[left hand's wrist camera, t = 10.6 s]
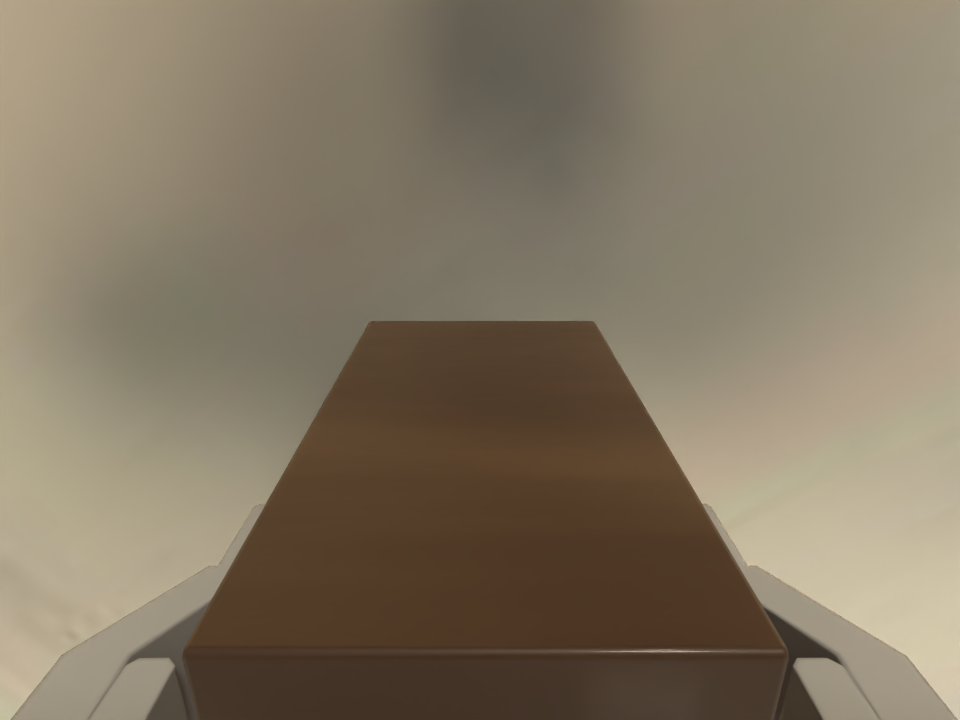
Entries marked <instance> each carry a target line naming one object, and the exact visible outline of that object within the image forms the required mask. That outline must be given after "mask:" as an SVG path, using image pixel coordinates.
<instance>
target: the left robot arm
mask: <svg viewBox="0 0 960 720" xmlns="http://www.w3.org/2000/svg"><path fill="white" fill-rule="evenodd" d="M265 505H266V504H259V505H257V506H255V507H254V508H253V509H252V510H251V512H250V514H249V515H248V517H247V519H246V520H245V522H244V524H243V525H242V527H241V529H240V530H239V532H238V534H237V535H236V537H235V539H234V540H233V542H232V544H231V545H230V547H229V549H228V550H227V552H226V554H225V555H224V557H223V559H222V560H221V562H220V564H219V565H218V566H208V567H207V568H205V569H203V570H202V571H200V572H199V573H197V574H195V575H194V576H192V577H190V578H189V579H187V580H185V581H184V582H182V583H180V584H179V585H177V586H175V587H174V588H172V589H170V590H169V591H167V592H165V593H164V594H162V595H160V596H159V597H157V598H156V599H154V600H152V601H151V602H149V603H147V604H146V605H144V606H142V607H141V608H139V609H137V610H136V611H134V612H132V613H131V614H129V615H127V616H126V617H124V618H122V619H121V620H119V621H117V622H116V623H114V624H113V625H111V626H109V627H108V628H106V629H104V630H103V631H101V632H99V633H98V634H96V635H94V636H93V637H91V638H89V639H88V640H86V641H84V642H83V643H81V644H79V645H78V646H76V647H74V648H73V649H71V650H70V651H68V652H66V653H65V654H63V655H62V656H61V657H60V658H59V659H58V661H57V662H56V663H55V664H54V666H53V667H52V668H51V669H50V671H49V672H48V673H47V674H46V676H45V677H44V678H43V680H42V681H41V682H40V683H39V685H38V686H37V687H36V688H35V690H34V691H33V692H32V693H31V695H30V696H29V697H28V698H27V700H26V701H25V702H24V703H23V705H22V706H21V707H20V709H19V710H18V711H17V712H16V714H15V715H14V716H13V717H12V719H11V720H197V719H196V715H195V711H194V706H193V702H192V698H191V694H190V689H189V685H188V681H187V677H186V672H185V668H184V664H183V660H182V654H183V650H184V647H185V645H186V643H187V642H188V640H189V638H190V636H191V635H192V633H193V631H194V629H195V628H196V626H197V624H198V622H199V621H200V619H201V617H202V615H203V613H204V612H205V610H206V608H207V606H208V605H209V603H210V601H211V599H212V598H213V596H214V594H215V592H216V591H217V589H218V587H219V585H220V584H221V582H222V580H223V578H224V577H225V575H226V573H227V571H228V570H229V568H230V566H231V564H232V563H233V561H234V559H235V557H236V556H237V554H238V552H239V550H240V549H241V547H242V545H243V543H244V542H245V540H246V538H247V536H248V534H249V533H250V531H251V529H252V527H253V526H254V524H255V522H256V520H257V519H258V517H259V515H260V513H261V512H262V510H263V508H264V506H265ZM702 505H703V506H704V508H705V510H706V512H707V513H708V515H709V517H710V518H711V520H712V522H713V523H714V525H715V527H716V528H717V530H718V532H719V533H720V535H721V537H722V539H723V540H724V542H725V544H726V545H727V547H728V549H729V550H730V552H731V554H732V555H733V557H734V559H735V561H736V562H737V564H738V566H739V567H740V569H741V571H742V572H743V574H744V576H745V577H746V579H747V581H748V583H749V584H750V586H751V588H752V589H753V591H754V593H755V594H756V596H757V598H758V599H759V601H760V603H761V605H762V606H763V608H764V610H765V611H766V613H767V615H768V616H769V618H770V620H771V621H772V623H773V625H774V627H775V628H776V630H777V632H778V633H779V635H780V637H781V638H782V640H783V642H784V643H785V645H786V647H787V650H788V655H789V659H788V664H787V668H786V672H785V676H784V680H783V684H782V688H781V692H780V696H779V701H778V705H777V709H776V713H775V717H774V720H957V718H956V717H955V716H954V715H953V713H952V712H951V711H950V710H949V708H948V707H947V706H946V705H945V703H944V702H943V701H942V700H941V698H940V697H939V696H938V695H937V693H936V692H935V691H934V690H933V688H932V687H931V686H930V685H929V683H928V682H927V681H926V680H925V678H924V677H923V676H922V675H921V673H920V672H919V671H918V670H917V668H916V667H915V666H914V665H913V663H912V662H911V661H910V660H909V658H908V657H907V656H906V655H904V654H902V653H901V652H899V651H897V650H896V649H894V648H892V647H891V646H889V645H887V644H886V643H884V642H882V641H881V640H879V639H877V638H876V637H874V636H872V635H871V634H869V633H867V632H866V631H864V630H862V629H861V628H859V627H857V626H856V625H854V624H852V623H851V622H849V621H847V620H846V619H844V618H842V617H841V616H839V615H837V614H836V613H834V612H832V611H831V610H829V609H827V608H826V607H824V606H822V605H821V604H819V603H817V602H816V601H814V600H812V599H811V598H809V597H807V596H806V595H804V594H802V593H801V592H799V591H797V590H796V589H794V588H792V587H791V586H789V585H787V584H786V583H784V582H782V581H781V580H779V579H777V578H776V577H774V576H773V575H771V574H769V573H768V572H766V571H764V570H763V569H761V568H759V567H758V566H747V564H746V562H745V561H744V559H743V558H742V556H741V554H740V553H739V551H738V549H737V548H736V546H735V545H734V543H733V541H732V540H731V538H730V537H729V535H728V533H727V532H726V530H725V528H724V527H723V525H722V524H721V522H720V520H719V519H718V517H717V516H716V514H715V512H714V511H713V509H712V508H711V506H709V505H707V504H702Z"/></svg>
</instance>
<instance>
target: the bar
mask: <svg viewBox="0 0 960 720" xmlns="http://www.w3.org/2000/svg"><path fill="white" fill-rule="evenodd" d="M788 659H789V655H788V650H787V647H786V645H785V643H784V642H783V640H782V638H781V637H780V635H779V633H778V632H777V630H776V628H775V627H774V625H773V623H772V621H771V620H770V618H769V616H768V615H767V613H766V611H765V610H764V608H763V606H762V605H761V603H760V601H759V599H758V598H757V596H756V594H755V593H754V591H753V589H752V588H751V586H750V584H749V583H748V581H747V579H746V577H745V576H744V574H743V572H742V571H741V569H740V567H739V566H738V564H737V562H736V561H735V559H734V557H733V555H732V554H731V552H730V550H729V549H728V547H727V545H726V544H725V542H724V540H723V539H722V537H721V535H720V533H719V532H718V530H717V528H716V527H715V525H714V523H713V522H712V520H711V518H710V517H709V515H708V513H707V512H706V510H705V508H704V506H703V505H702V503H701V501H700V500H699V498H698V496H697V495H696V493H695V491H694V490H693V488H692V486H691V484H690V483H689V481H688V479H687V478H686V476H685V474H684V473H683V471H682V469H681V468H680V466H679V464H678V462H677V461H676V459H675V457H674V456H673V454H672V452H671V451H670V449H669V447H668V446H667V444H666V442H665V440H664V439H663V437H662V435H661V434H660V432H659V430H658V429H657V427H656V425H655V424H654V422H653V420H652V418H651V417H650V415H649V413H648V412H647V410H646V408H645V407H644V405H643V403H642V402H641V400H640V398H639V396H638V395H637V393H636V391H635V390H634V388H633V386H632V385H631V383H630V381H629V380H628V378H627V376H626V374H625V373H624V371H623V369H622V368H621V366H620V364H619V363H618V361H617V359H616V358H615V356H614V354H613V352H612V351H611V349H610V347H609V346H608V344H607V342H606V341H605V339H604V337H603V336H602V334H601V332H600V330H599V329H598V327H597V325H596V324H595V322H593V321H371V322H369V324H368V326H367V327H366V329H365V331H364V333H363V334H362V336H361V338H360V340H359V341H358V343H357V345H356V347H355V348H354V350H353V352H352V354H351V355H350V357H349V359H348V361H347V362H346V364H345V366H344V368H343V369H342V371H341V373H340V375H339V376H338V378H337V380H336V382H335V383H334V385H333V387H332V389H331V391H330V392H329V394H328V396H327V398H326V399H325V401H324V403H323V405H322V406H321V408H320V410H319V412H318V413H317V415H316V417H315V419H314V420H313V422H312V424H311V426H310V427H309V429H308V431H307V433H306V434H305V436H304V438H303V440H302V441H301V443H300V445H299V447H298V448H297V450H296V452H295V454H294V455H293V457H292V459H291V461H290V463H289V464H288V466H287V468H286V470H285V471H284V473H283V475H282V477H281V478H280V480H279V482H278V484H277V485H276V487H275V489H274V491H273V492H272V494H271V496H270V498H269V499H268V501H267V503H266V505H265V506H264V508H263V510H262V512H261V513H260V515H259V517H258V519H257V520H256V522H255V524H254V526H253V527H252V529H251V531H250V533H249V534H248V536H247V538H246V540H245V542H244V543H243V545H242V547H241V549H240V550H239V552H238V554H237V556H236V557H235V559H234V561H233V563H232V564H231V566H230V568H229V570H228V571H227V573H226V575H225V577H224V578H223V580H222V582H221V584H220V585H219V587H218V589H217V591H216V592H215V594H214V596H213V598H212V599H211V601H210V603H209V605H208V606H207V608H206V610H205V612H204V613H203V615H202V617H201V619H200V621H199V622H198V624H197V626H196V628H195V629H194V631H193V633H192V635H191V636H190V638H189V640H188V642H187V643H186V645H185V647H184V650H183V654H182V660H183V664H184V668H185V672H186V677H187V681H188V685H189V689H190V694H191V698H192V702H193V706H194V711H195V715H196V719H197V720H774V717H775V713H776V709H777V705H778V701H779V696H780V692H781V688H782V684H783V680H784V676H785V672H786V668H787V664H788Z"/></svg>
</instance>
